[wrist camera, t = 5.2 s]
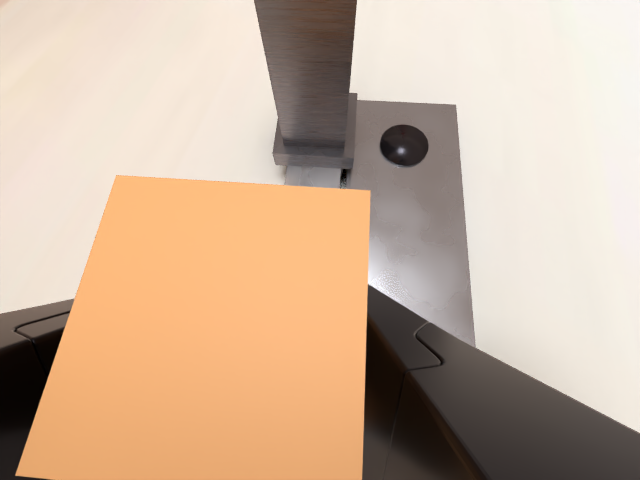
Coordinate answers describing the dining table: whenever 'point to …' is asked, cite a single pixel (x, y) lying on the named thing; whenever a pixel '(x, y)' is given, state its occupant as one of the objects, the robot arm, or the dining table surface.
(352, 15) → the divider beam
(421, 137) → the bolt plate
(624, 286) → the dining table surface
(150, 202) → the block
